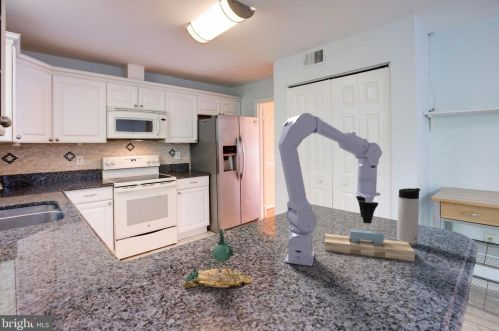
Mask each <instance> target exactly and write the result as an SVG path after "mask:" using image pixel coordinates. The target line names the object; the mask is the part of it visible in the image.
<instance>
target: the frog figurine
mask: <svg viewBox="0 0 499 331" xmlns="http://www.w3.org/2000/svg"><path fill="white" fill-rule="evenodd" d="M218 235H219V240H218V242H217V243H216V244H215V245H214V247H213V249H212V250H213V251H212V254H213V256H212V257H209V259H207V258H204V259H203V260H202V261H201V263H203V262H204V261H207V262H208V264H207V266H206V268H207V269H206V270H201V271H200V270H199V271H198V269H196V266H195V265H194V266H193V271H190V274H189V275H188V276H187V277H186V280H185V281H183V283H182V286H184V287H186V288H189V287H190V288H191V287H198V286H203V285H204V286H205V287H212V288H213V287H214V288H230V287H233V286H234V287H236V286H241V285H242V284H252V283H253V280H254V279H253V278H251V277H249V276H247V275H245V274H244V273H243V272H242V271H238V270H237V271H236V270H233V268H232V266H231V265H230V264H228V263H226V262H227V261H230V259H231V257H233V256H235V252H237V253H239V249H236V250H234V248H233V247H232V246H231V245H230V240H228V236H226V240H225V238H224V237H225V236H224V231H223V229H222V228H221V227H220V228H219V229H218ZM211 259H214V260H215V261H214V262H213V261H211ZM217 262H218V263H217ZM220 263H222V264H224V265H225V266H224V267H225V268H224V269H219V267H218V265H220ZM211 265H215V267H216V268H211Z"/></svg>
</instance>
